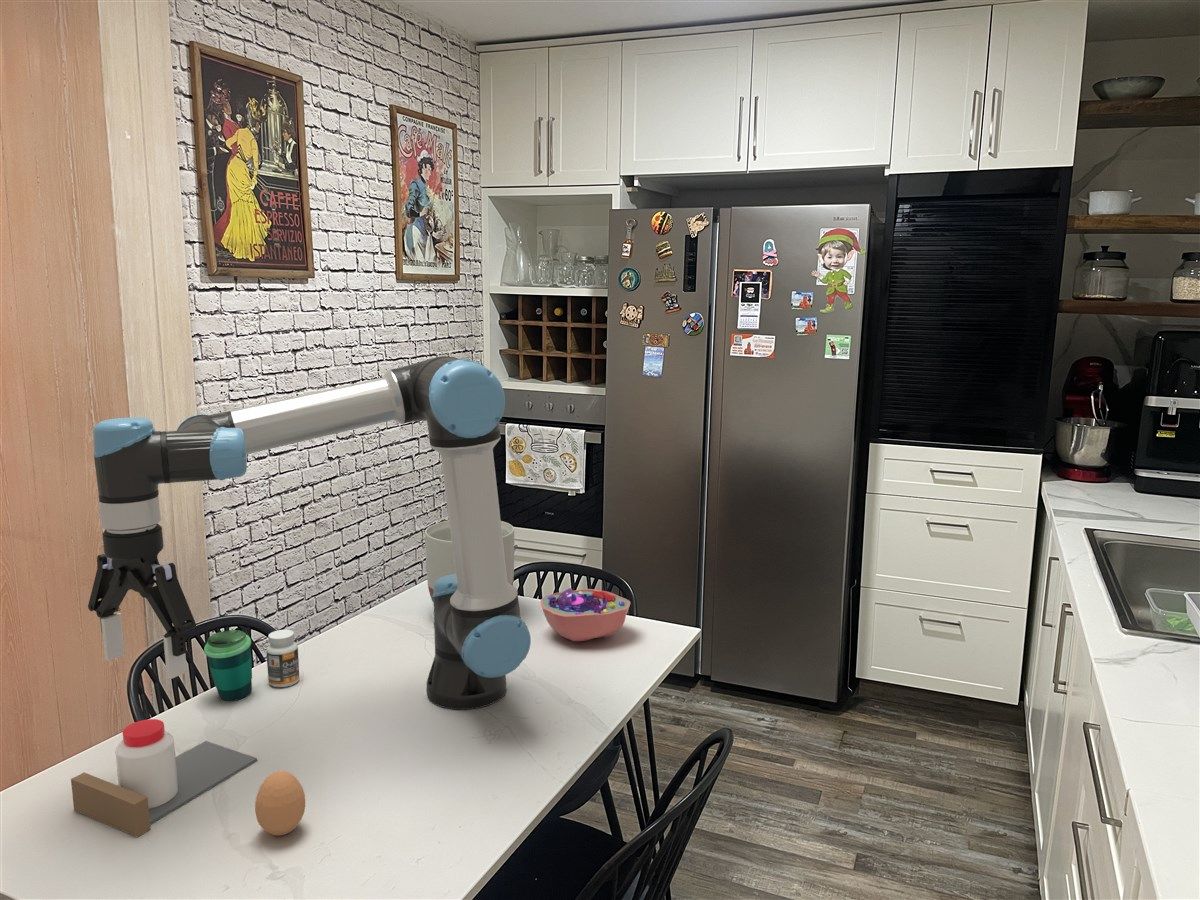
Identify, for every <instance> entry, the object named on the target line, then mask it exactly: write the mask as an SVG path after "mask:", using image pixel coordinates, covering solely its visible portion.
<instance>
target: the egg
mask: <svg viewBox="0 0 1200 900" xmlns="http://www.w3.org/2000/svg"><path fill="white" fill-rule="evenodd" d="M254 803H255V805H254V813H255V817H256V820H257V823H258V825H259V826H260V827H261V828H262V830H264V831H265V832H266V833H267V834H270V835H273V836H276V837H277V836H285V835H286V834H289V833H291V832H292V831H293V830H294V829H296V827H297V826H298V825H299V824H300V822H301V820H302V819H303V816H304V813H305V809H306V795H305V791H304V788H303V786H302V784H301V782H300V781H299V780H298V778H297V777H296V776H295V775H293V774H292V773H291V772H288V771H285V770H279V771H278V770H277V771H275V772H272V773H271V774H269V775H268V776H267V777H266V778H265V779H264V780H263V782H262V784H261V785H260V787H259V788H258V792H257V794H256V796H255V802H254Z"/></svg>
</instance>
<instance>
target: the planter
mask: <svg viewBox="0 0 1200 900" xmlns="http://www.w3.org/2000/svg"><path fill="white" fill-rule="evenodd" d="M514 527H515V526H513V525H512V524H510V523H509V522H506V521H503V520H501V528H502V537H503V546H504V555H505V564H506V573H507V582H508V583H509V584H511V585H512V586H514V575H515V573H514V572H515V528H514ZM424 541H425V542H424V544H425V546H424V547H425V549H424V550H425V565H426V567H425V569H426V581H427V587H428V593H429V596H430V600H431V601H432V604H434V601H433V592H434V583H435V582H436V581H437V580H438V579H439V578H441V577H444V576H447V575H452V574H456V572H455V564H454V556H453V548H452V540H451V532H450V524H449V520H446V521H445V520H443V521H441V522H437V523H434V524H432V525H429V526H428V527H426V529H425V531H424Z"/></svg>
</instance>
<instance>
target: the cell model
mask: <svg viewBox="0 0 1200 900" xmlns="http://www.w3.org/2000/svg"><path fill="white" fill-rule="evenodd" d="M630 605H631V601H630V600H629V599H627V598H625V597H622V596H619V595H617V594H615V593H614V592H610V591H606V590H599V589H594V588H593V589H592V588H583V589H575V590H573V588H572V587H569V588H567V589H564V590H563V591H560V592H555V593H551V594H548V595H545V596H543V597H542V598H541V599H540V607H541V609H542V610H541V611H542V613H543V615H544V617H545V619H546V622H547V624H548V625H549V626H550V627H551V628H552V630H553V631H554V632H555V634H558V635H559V636H562V637H563V638H565V639H567V640H568V641H572V642H585V641H591V640H594V639H597V638H602V639H603V638H604V639H605V638H608V637H610V636H612V635H613V634H615V633H617V632H619V630H620V629H621V628H623V625H624V624H625V621H626V617H627V615H628V611H629V609H630Z"/></svg>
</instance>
